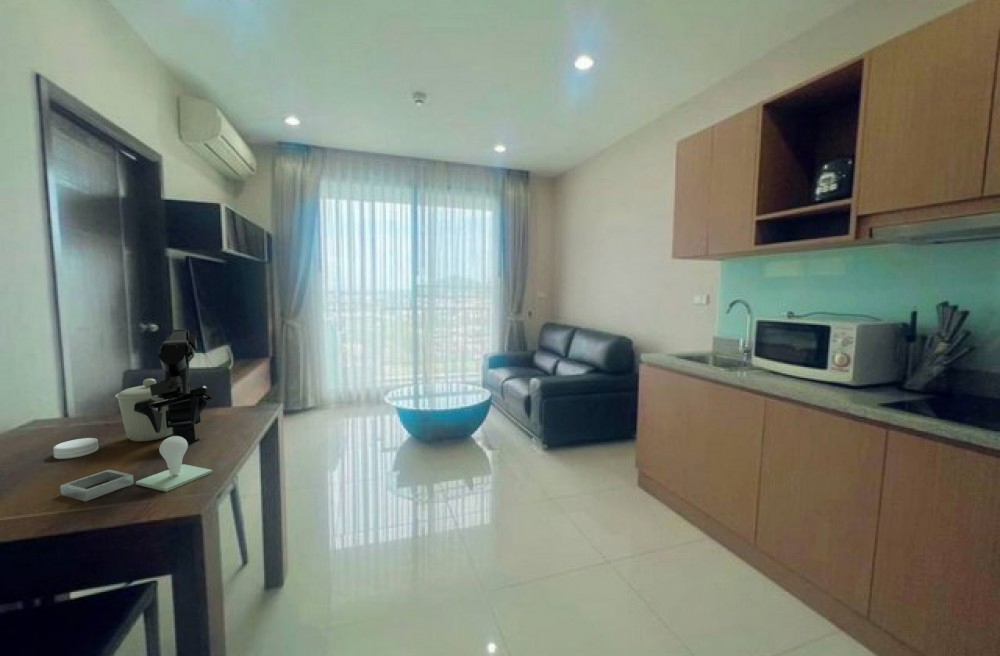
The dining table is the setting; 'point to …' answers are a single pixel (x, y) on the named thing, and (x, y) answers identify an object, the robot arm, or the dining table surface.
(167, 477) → the green mat
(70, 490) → the grey square frame
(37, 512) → the dining table surface
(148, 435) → the canister
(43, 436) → the dining table surface
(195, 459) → the dining table surface
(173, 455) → the lightbulb
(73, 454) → the white round disc
